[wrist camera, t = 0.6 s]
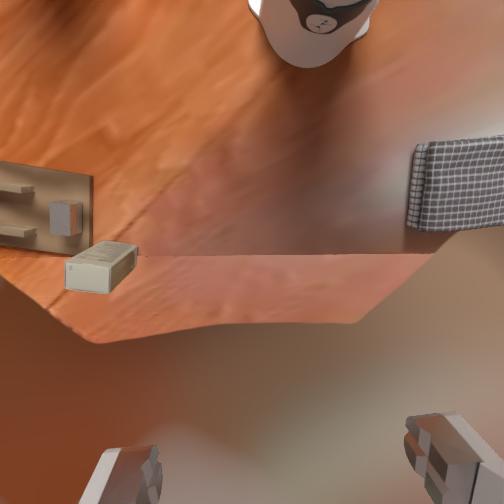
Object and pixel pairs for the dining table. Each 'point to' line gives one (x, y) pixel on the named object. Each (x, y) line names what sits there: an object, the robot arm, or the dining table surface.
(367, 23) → the robot arm
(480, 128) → the dining table surface
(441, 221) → the towel
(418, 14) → the dining table surface
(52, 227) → the block
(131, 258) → the skincare box
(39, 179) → the base
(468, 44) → the dining table surface
